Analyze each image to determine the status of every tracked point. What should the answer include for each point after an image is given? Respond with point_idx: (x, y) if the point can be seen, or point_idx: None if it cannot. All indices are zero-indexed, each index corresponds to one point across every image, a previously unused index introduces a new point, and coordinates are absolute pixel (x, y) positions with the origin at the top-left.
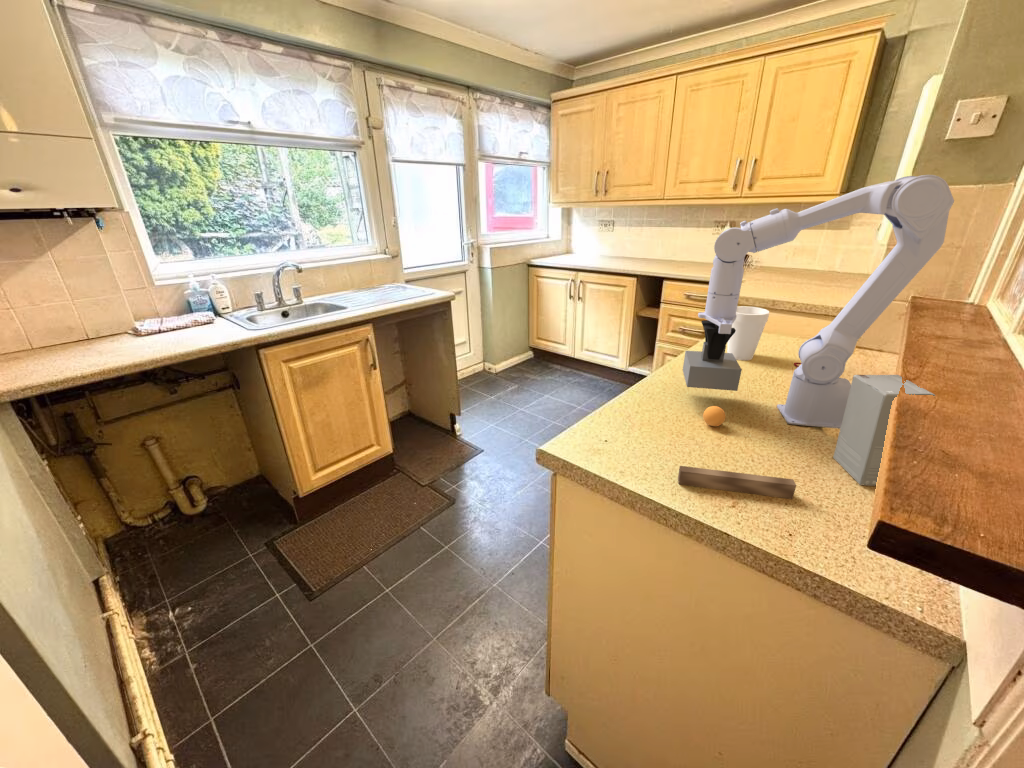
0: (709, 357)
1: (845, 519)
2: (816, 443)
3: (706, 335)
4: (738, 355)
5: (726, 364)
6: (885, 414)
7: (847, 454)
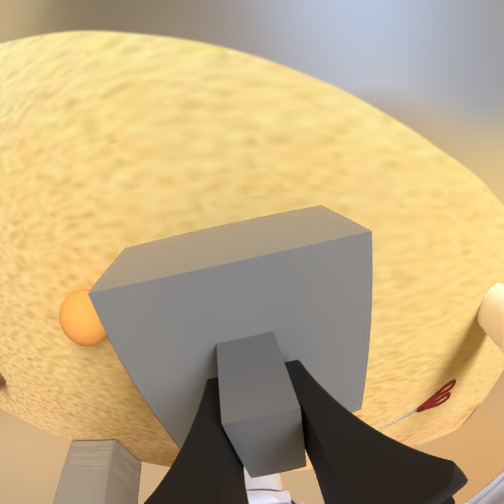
0: (205, 389)
1: (12, 410)
2: (143, 434)
3: (323, 453)
4: (486, 309)
5: None
6: None
7: (87, 456)
